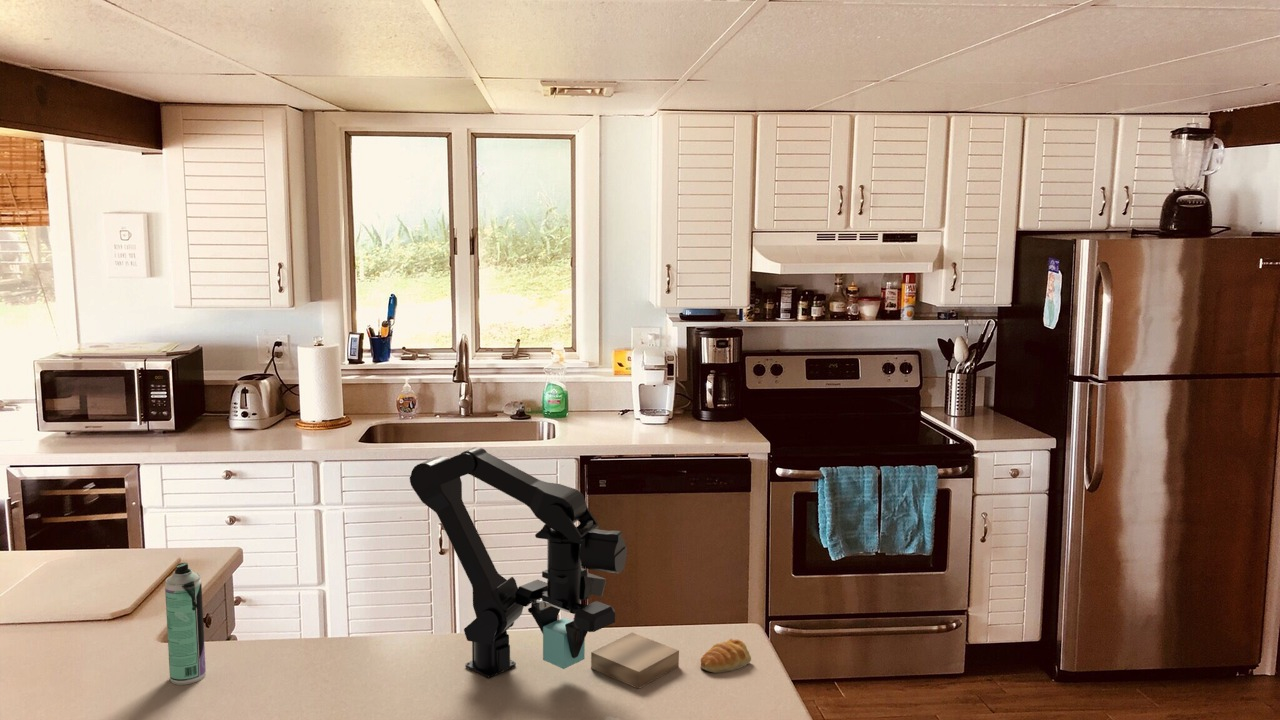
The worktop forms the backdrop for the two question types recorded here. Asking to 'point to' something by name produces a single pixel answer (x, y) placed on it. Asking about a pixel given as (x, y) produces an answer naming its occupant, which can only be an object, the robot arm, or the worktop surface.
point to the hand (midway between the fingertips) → (563, 652)
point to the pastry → (726, 656)
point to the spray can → (185, 626)
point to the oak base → (635, 660)
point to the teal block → (559, 645)
